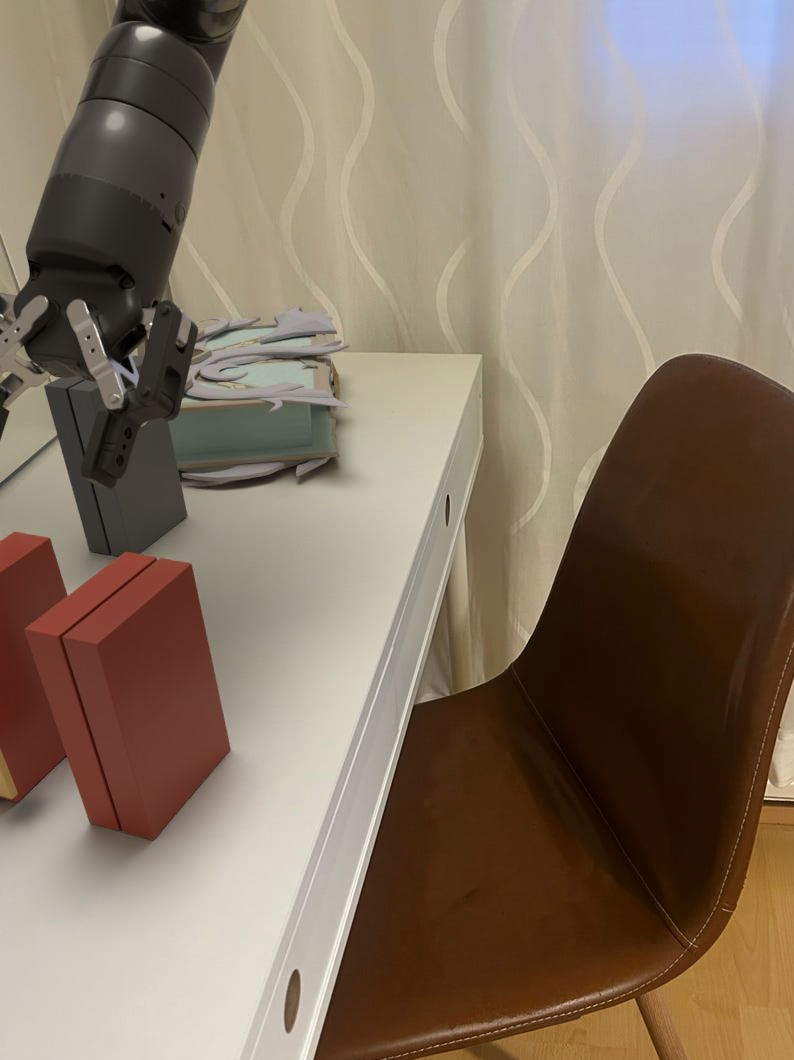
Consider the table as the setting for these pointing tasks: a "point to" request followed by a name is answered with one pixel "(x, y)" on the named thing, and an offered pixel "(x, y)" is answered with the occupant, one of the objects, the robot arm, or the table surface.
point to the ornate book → (258, 398)
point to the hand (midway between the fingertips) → (33, 472)
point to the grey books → (143, 491)
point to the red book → (25, 664)
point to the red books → (133, 691)
